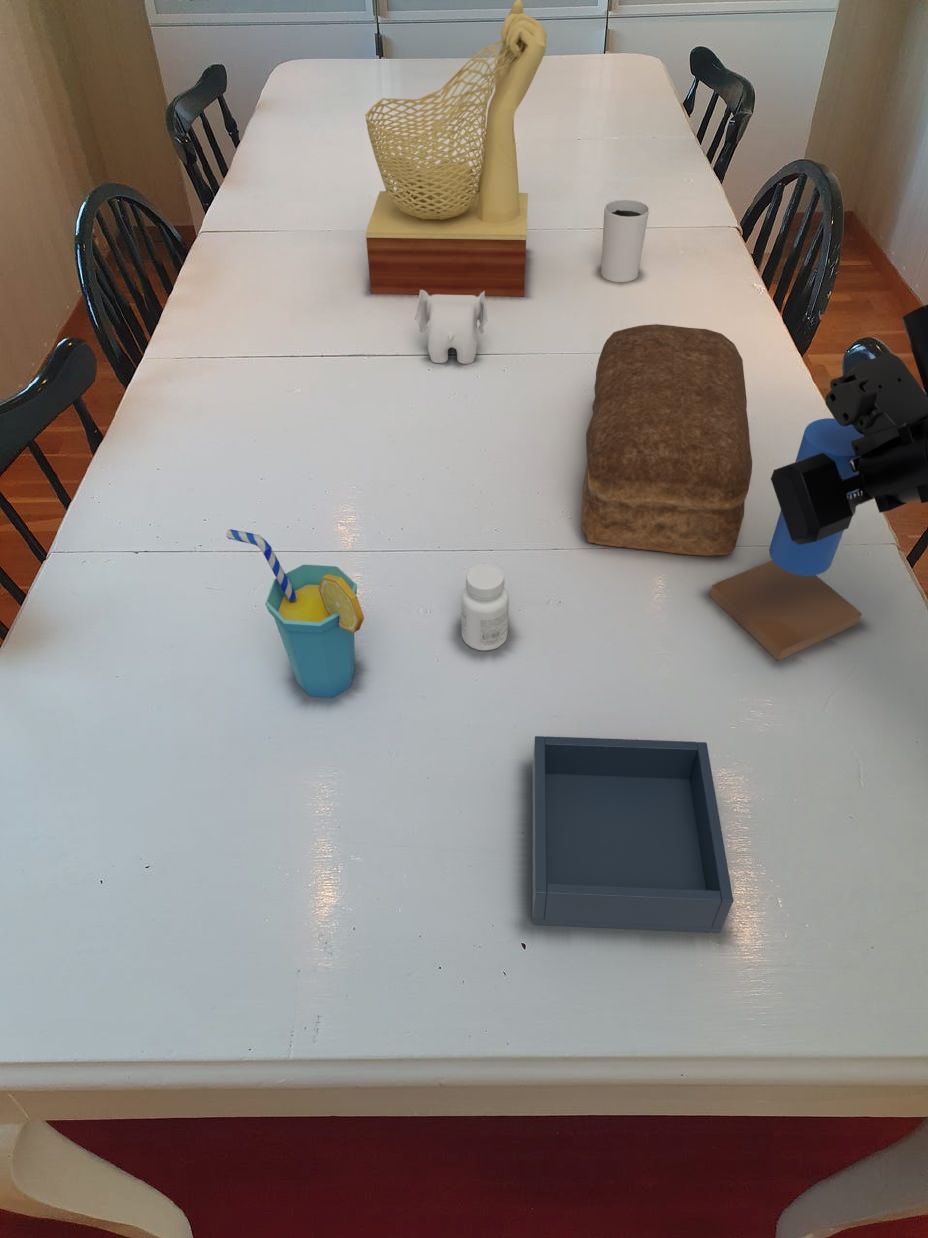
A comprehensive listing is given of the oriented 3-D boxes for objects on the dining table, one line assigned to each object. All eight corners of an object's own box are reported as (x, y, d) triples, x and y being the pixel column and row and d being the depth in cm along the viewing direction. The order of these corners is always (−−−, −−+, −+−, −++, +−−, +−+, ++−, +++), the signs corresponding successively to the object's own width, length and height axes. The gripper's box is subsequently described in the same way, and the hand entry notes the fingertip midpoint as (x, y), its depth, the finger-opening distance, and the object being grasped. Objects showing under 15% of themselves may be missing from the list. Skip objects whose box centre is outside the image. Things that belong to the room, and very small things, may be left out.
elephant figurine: (490, 330, 129) (491, 269, 123) (486, 374, 121) (486, 311, 114) (423, 328, 129) (420, 268, 123) (415, 372, 121) (411, 309, 115)
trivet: (857, 624, 87) (862, 613, 86) (777, 661, 84) (781, 650, 83) (786, 563, 94) (789, 552, 92) (709, 595, 90) (711, 584, 89)
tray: (696, 777, 75) (706, 741, 72) (720, 933, 66) (733, 901, 62) (532, 770, 76) (534, 735, 72) (532, 925, 66) (535, 893, 63)
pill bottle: (515, 629, 87) (518, 570, 82) (492, 658, 85) (493, 599, 79) (477, 612, 89) (477, 553, 83) (452, 640, 86) (451, 581, 81)
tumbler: (819, 584, 81) (863, 464, 72) (759, 561, 83) (794, 441, 74) (840, 550, 84) (884, 431, 75) (782, 528, 86) (818, 410, 77)
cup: (231, 674, 84) (195, 551, 73) (281, 621, 88) (255, 498, 78) (359, 731, 79) (340, 608, 68) (404, 671, 84) (394, 548, 73)
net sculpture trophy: (536, 250, 148) (548, -7, 123) (535, 301, 135) (548, 27, 110) (384, 247, 149) (365, -7, 124) (369, 298, 136) (345, 26, 111)
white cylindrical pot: (599, 283, 139) (606, 216, 132) (596, 264, 144) (602, 199, 137) (643, 283, 139) (652, 216, 132) (638, 264, 144) (647, 199, 136)
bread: (729, 409, 114) (751, 310, 105) (737, 569, 93) (767, 463, 84) (593, 397, 116) (603, 299, 107) (572, 552, 95) (582, 446, 86)
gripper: (1010, 314, 68) (857, 378, 83) (822, 377, 62) (693, 434, 77) (1055, 455, 69) (895, 494, 83) (873, 531, 62) (736, 558, 77)
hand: (807, 492), depth 80 cm, fingers closed on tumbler, 5 cm apart
